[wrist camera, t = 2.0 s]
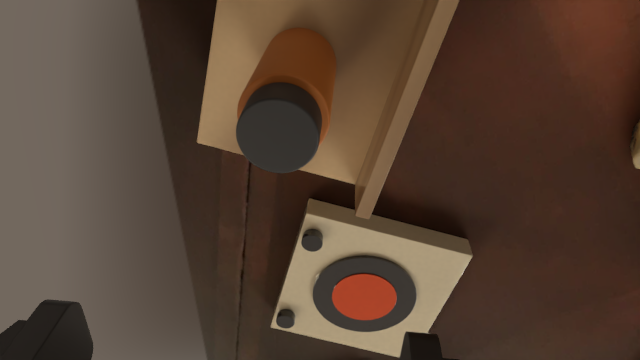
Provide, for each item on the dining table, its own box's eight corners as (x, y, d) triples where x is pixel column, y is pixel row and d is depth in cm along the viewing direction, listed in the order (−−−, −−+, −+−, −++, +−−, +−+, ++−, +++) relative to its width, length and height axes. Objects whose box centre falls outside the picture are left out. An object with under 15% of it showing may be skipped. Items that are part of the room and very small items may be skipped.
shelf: (225, 94, 32) (179, 170, 24) (259, -104, 26) (212, -96, 18) (366, 133, 33) (369, 219, 25) (432, -50, 27) (466, -17, 18)
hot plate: (273, 310, 43) (268, 334, 41) (308, 197, 36) (305, 219, 34) (408, 342, 44) (411, 368, 42) (468, 239, 37) (475, 263, 35)
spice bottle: (257, 87, 24) (220, 166, 18) (272, 17, 23) (235, 77, 16) (325, 105, 25) (313, 190, 18) (345, 39, 23) (340, 106, 16)
